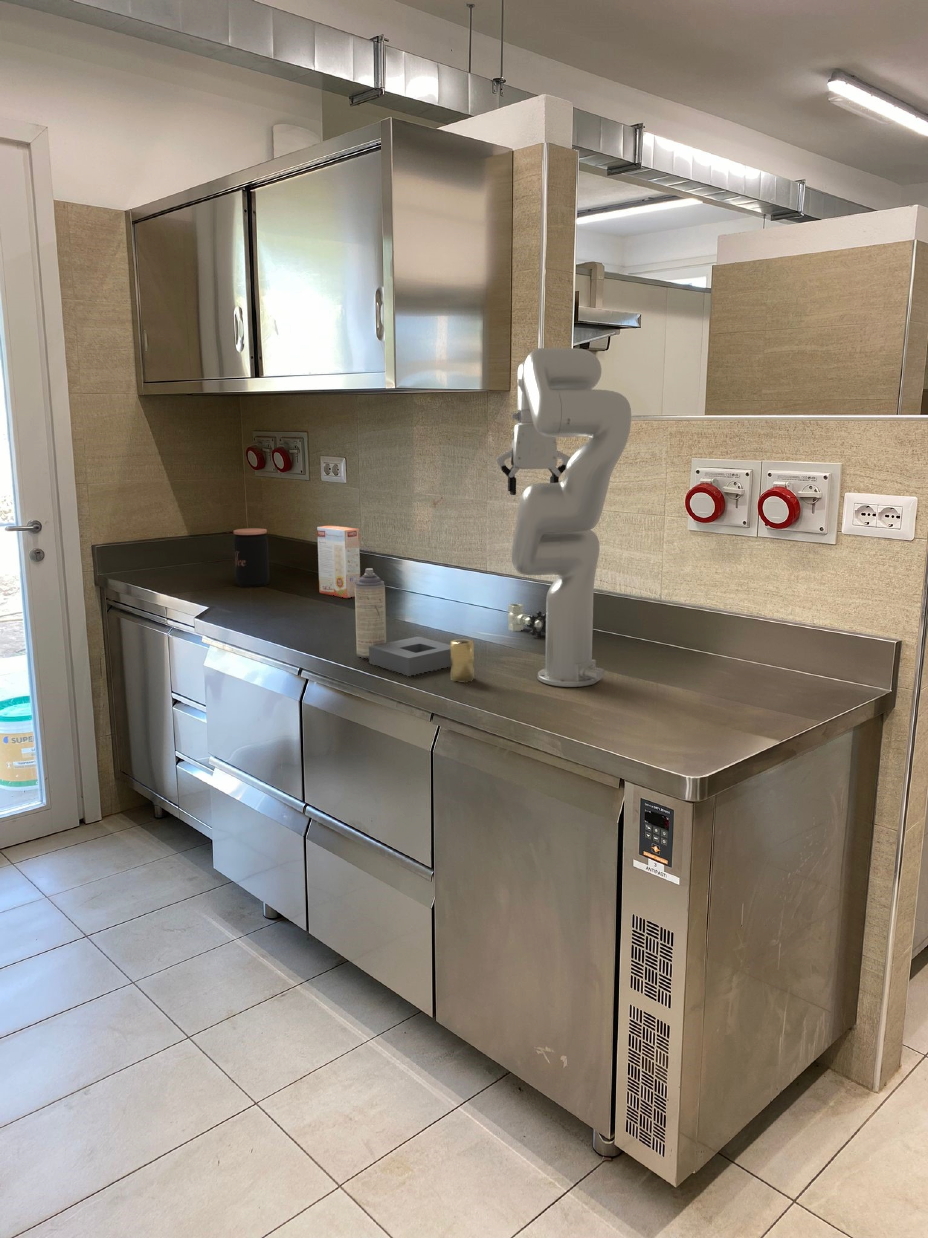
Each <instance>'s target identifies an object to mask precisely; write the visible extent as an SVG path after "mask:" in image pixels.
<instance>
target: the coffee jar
mask: <svg viewBox="0 0 928 1238" xmlns="http://www.w3.org/2000/svg"><path fill="white" fill-rule="evenodd" d="M267 533H268V530H267V529H266V528H256V527H255V528H254V527H253V528H251V527H249V528H238V529H234V530H233V535H234V537H233V551H234V552H233V553H234V564H235V565H234V567H235V568H234V569H235V582H236V584H237V586H238V587H240V586H242V587H241V588H249V587H251V588H262V587H265V586H268V585H269V582H270V566H269V565H270V561H269V543H268V541H269V540H268V536H267V535H266V534H267ZM267 584H268V585H267ZM261 586H262V587H261Z"/></svg>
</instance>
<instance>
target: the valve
mask: <svg viewBox="0 0 928 1238" xmlns="http://www.w3.org/2000/svg"><path fill="white" fill-rule="evenodd" d="M535 615H536V616H535ZM535 615H534V614H529V615H528V614H526V613H524V604H522V603H510V604H508V614H507V620H508V625H507V626H508V628H507V629H508V631H510V630H511V632H522V631H523V630H524V627H527V628H528V629H531V630H530V631H529V632H528V634H529V635H530V636H535V637H536V636H537V638H541V637H542V633H543V634H546V612H544V613H542V611H540V610H536V612H535ZM542 624H543V625H542ZM537 628H538V629H539V630H538V629H537ZM540 628H541V629H540ZM521 630H522V631H521ZM540 636H541V637H540Z"/></svg>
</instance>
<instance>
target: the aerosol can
mask: <svg viewBox="0 0 928 1238" xmlns="http://www.w3.org/2000/svg"><path fill="white" fill-rule="evenodd" d="M355 584H356V585H355V597H354V603H355V604H354V605H355V608H354V609H355V634H356V636H355V638H356V639H355V641H356V643H355V644H356V657H357V656H359V657H361V658H360V659H363V658H369V646H374V645H378V644H383V643H387V623H386V621H387V620H386V619H387V617H386V615H387V613H386V586H385V581H384V580H381V577H379V576H378V575H377V574H376V573H374V569H373V568H371V567H370V568H365V571H364V574H363V575H362V576H360V579H359V581H357V582H355ZM359 657H358V658H359Z"/></svg>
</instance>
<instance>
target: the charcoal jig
mask: <svg viewBox="0 0 928 1238" xmlns="http://www.w3.org/2000/svg"><path fill="white" fill-rule="evenodd" d="M368 662H369V663H370V664H369V665H371V664H374V665H378V666H380V667H383V668H387V669H389V670H388V671H390V670H393V671H397V672H399V673H402V674H404V675H403V676H405V675H408V676H410V675H414V676H417V675H416V674H418V673H422V674H425V673H424V672H427V673H429V672H428V671H431V672H434V671H433V670H435V671H439V670H442V669H441V668H444V669H447V667H448V668H451V650H450V643H449V644H448V643H444V642H441V641H438V640H437V641H436V640H433V639H429V638H426V637H422V636H413V637H409V638H405V639H404V638H403V639H399V640H395V641H390V642H386V643H383V644H378V645H374V646H369V659H368ZM374 665H373V666H374ZM380 667H379V668H380ZM383 668H382V669H383ZM438 669H439V670H438ZM393 671H392V672H393ZM399 673H398V674H399ZM402 674H401V675H402ZM418 675H419V674H418ZM408 676H407V677H408ZM410 677H411V676H410Z"/></svg>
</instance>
